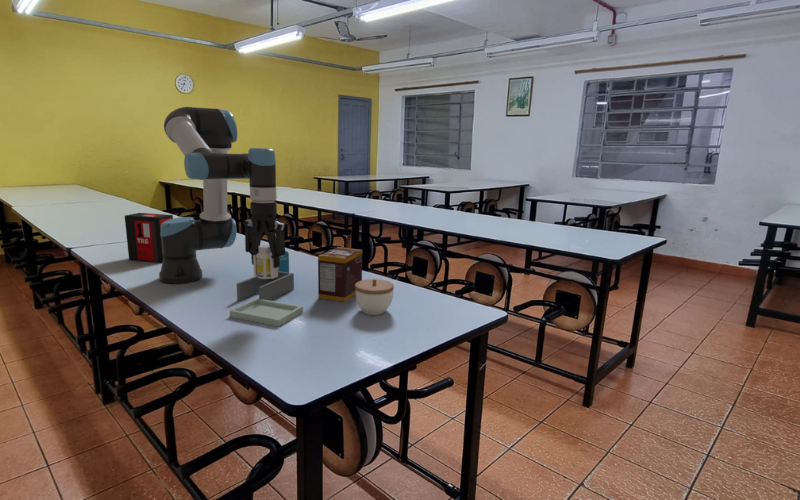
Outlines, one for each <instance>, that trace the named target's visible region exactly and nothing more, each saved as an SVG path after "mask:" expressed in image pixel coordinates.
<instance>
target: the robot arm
mask: <svg viewBox="0 0 800 500" xmlns="http://www.w3.org/2000/svg"><path fill="white" fill-rule="evenodd" d="M232 113H233V112H231V111H230V110H227V109H220V108H212V107H211V108H210V107H195V106H194V107H192V106H182V107H179V108H176V109H174V110H173V111H171V112H170V113H168V115H167V116H166V117H165V120H164V123H163V129H164V130H163V131H164V133H165V135H166V136H167V138H168V139H169V140H170V141H171V142H172V143H175V144H176V145H177V147H178V148H179V150H180V151H181V153H182V155H183V156H184V161H183V164H184V165H183V166H184V171H185V175H186V176H187V178H188V179H191V180H199V181H202V185H203V187H202V188H203V189H202V191H203V193H202V194H203V198H202V199H203V211H202V212H201V213H200V214H199V220H195V219H194V217H192V216H183V217H182V216H181V217H176V218H174V217H173V219H170V220H167V221H165V222H163V223H162V224H161V234H160V236H161V241H162V253H163V263H161V268H160V272H159V274H158V275H159V277H158V278H159V282H161V283H164V284H187V283H191V282H196V281H199V280H200V279H203V270H202V269H201V267H200V262H199V261H198V258H197V251H203V250H212V249H213V250H214V249H215V250H216V249H224V248H229V247H232V245H234V243H235V241H236V240H237V239H236V238H237V224H236V221H235V219H234V218H232V215H231V214H230V212H228V180H241V179H244V180H245V179H247V180H248V179H249V180H248V181H249V198H250V201H251V202H250V207H249V209H250V214H251V218H250V219H246V220H245V219H244V220H243V226H244V237H245V238H244V241H245V242H244V245H245V250H244V251H245V252H246V253H249V254H250V255H251V265H253V277H255V276H257V254H258V253H259V246H260V245H261V244H262V243H261V242H262V237H263V234H265V237H267V240H268V245H269V246H270V250H271V253H272V257H271V258H270V273H271V279H273V278H276V277H278V267H279V266H280V256H282V255H285V251H286V239H285V228H286V223H285V222H280V221H278V219H277V213H278V208H277V206H278V204H277V202H276V201H277V197H278V196H277V175H276V174H277V173H276V172H277V171H276V169H277V168H276V167H277V166H276V163H277V160H276V153H275V150H274V149H273V148H267V147H266V148H265V147H261V148H260V147H251V148H249V149H248V150H247V151H248V153H245V152H243V153H228V152H229V151H230V150H231V149H232V146H233V145H232V144H233V143H236V142H237V140H238V126H237V122H236V119H235V117H234V115H233V114H232Z"/></svg>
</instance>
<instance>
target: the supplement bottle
mask: <svg viewBox="0 0 800 500" xmlns="http://www.w3.org/2000/svg"><path fill="white" fill-rule="evenodd" d="M271 257H272V253H271V250H270V246H269V244H260V246H259V253H258V254H257V276H258V278H260V279H270V278H271V273H270V258H271Z"/></svg>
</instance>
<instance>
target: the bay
mask: <svg viewBox="0 0 800 500" xmlns="http://www.w3.org/2000/svg"><path fill="white" fill-rule="evenodd" d="M294 289H295V275H294V273H293V272H289V273H287V272H280V271H278V277H276V278H273V279H271V278H270V279H260V278H258V276H252V277H249V278H247V279H245V280H242V281H239V282H237V283H236V299H237V301H242V300H245V299H247V298H250V297H251V296H253V295H256V294H258V299H264V300H270V301H274V300H275V299H277V298H278V297H281V296H282V295H284V294H287V293H289V292H290V291H293V290H294Z"/></svg>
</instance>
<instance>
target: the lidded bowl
mask: <svg viewBox="0 0 800 500" xmlns="http://www.w3.org/2000/svg"><path fill="white" fill-rule="evenodd" d="M394 288H395V286H394V283H392V282H391V281H389V280H385V279H377V278H370V279H362V281H359V282H357V283H356V284H355V295H354V296H355V300H356V304H357V306H358V307H359V309H360V310H362V311H363V313H364V314H366V315H369V316H378V315H382V314H384V313H385V311H387V310H388V309H389V307H390V306H391V304H392V302H393V298H394V297H393V296H394Z"/></svg>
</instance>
